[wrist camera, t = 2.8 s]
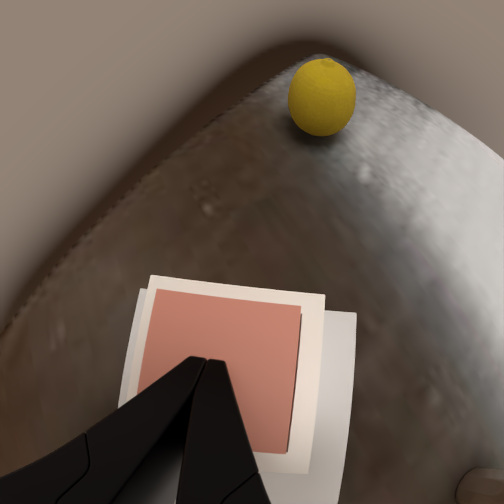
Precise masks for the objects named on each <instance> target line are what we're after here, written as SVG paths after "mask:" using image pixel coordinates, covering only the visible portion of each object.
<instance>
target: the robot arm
mask: <svg viewBox="0 0 504 504" xmlns="http://www.w3.org/2000/svg"><path fill="white" fill-rule="evenodd" d="M175 500H176V503H175ZM174 503H175V504H271V502H270V499H269V497H268V494H267V492H266V489H265V486H264V484H263V481H262V478H261V475H260V473H259V469H258V466H257V463H256V460H255V457H254V454H253V451H252V448H251V445H250V442H249V439H248V435H247V432H246V429H245V426H244V423H243V419H242V416H241V413H240V409H239V406H238V403H237V399H236V396H235V392H234V389H233V386H232V382H231V379H230V375H229V372H228V368H227V365H226V362H225V361H224V360H218V359H208V360H207V359H206V358H204V357H198V356H189V357H187V358H186V359H185V360H183V361H182V362H181V363H179V364H178V365H177V366H175V367H174V368H173V369H171V370H170V371H169V372H167V373H166V374H165V375H163V376H162V377H161V378H159V379H158V380H156V381H155V382H154V383H152V384H151V385H150V386H148V387H147V388H146V389H144V390H143V391H141V392H140V393H139V394H137V395H136V396H135V397H133V398H132V399H130V400H129V401H128V402H126V403H125V404H123V405H122V406H121V407H119V408H118V409H116V410H115V411H114V412H112V413H111V414H109V415H108V416H106V417H105V418H104V419H102V420H101V421H99V422H98V423H96V424H95V425H94V426H92V427H91V428H89V429H88V430H86V433H82V434H80V435H79V436H77V437H76V438H74V439H73V440H71V441H70V442H68V443H67V444H65V445H63V446H62V447H60V448H59V449H57V450H55V451H54V452H52V453H50V454H48V455H46V456H44V457H43V458H41V459H39V460H37V461H35V462H33V463H31V464H29V465H27V466H24V467H22V468H20V469H18V470H16V471H14V472H11V473H9V474H7V475H5V476H2V477H0V504H174Z"/></svg>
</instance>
